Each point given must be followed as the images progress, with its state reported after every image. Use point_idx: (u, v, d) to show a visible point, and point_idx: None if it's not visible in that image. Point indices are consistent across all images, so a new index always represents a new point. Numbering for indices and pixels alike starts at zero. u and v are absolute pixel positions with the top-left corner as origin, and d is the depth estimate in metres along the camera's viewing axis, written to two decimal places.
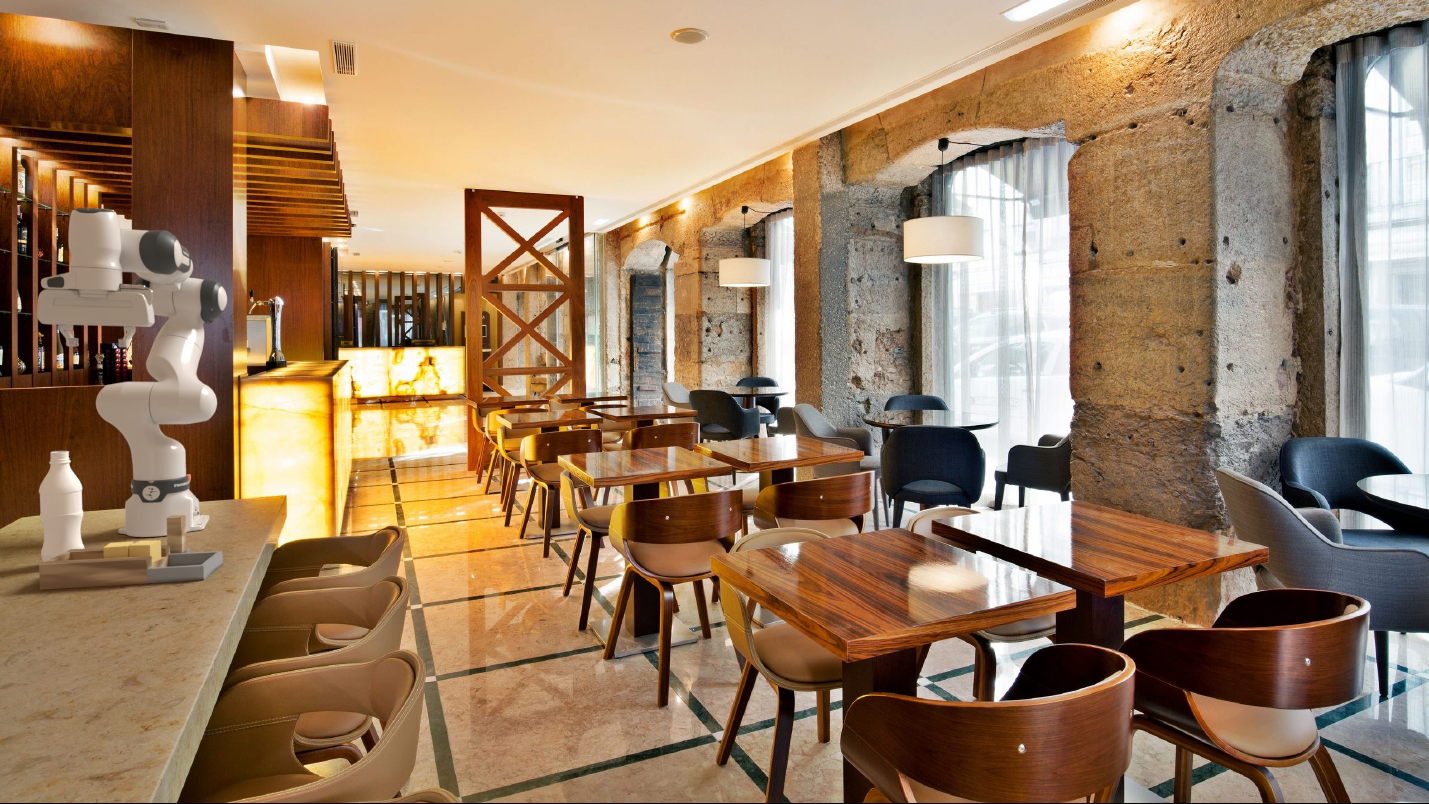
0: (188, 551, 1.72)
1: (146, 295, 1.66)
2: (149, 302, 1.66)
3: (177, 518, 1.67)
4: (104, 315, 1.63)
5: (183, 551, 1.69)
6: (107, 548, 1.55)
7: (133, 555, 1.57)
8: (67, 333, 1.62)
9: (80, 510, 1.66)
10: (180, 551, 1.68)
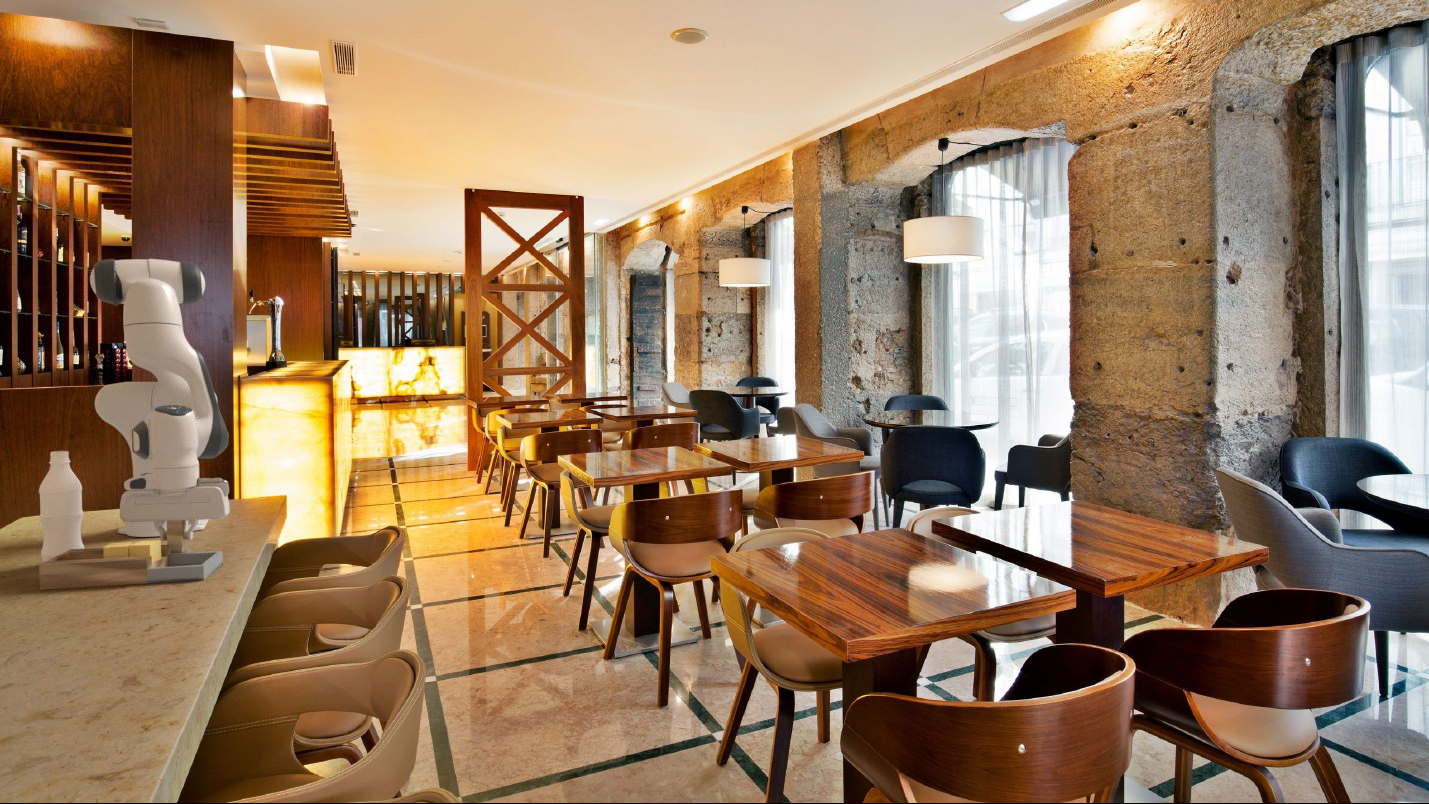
0: (188, 551, 1.71)
1: (222, 488, 1.71)
2: (225, 494, 1.71)
3: None
4: (183, 510, 1.67)
5: (183, 551, 1.69)
6: (107, 548, 1.55)
7: (133, 555, 1.57)
8: (161, 528, 1.68)
9: (80, 510, 1.66)
10: (180, 551, 1.68)
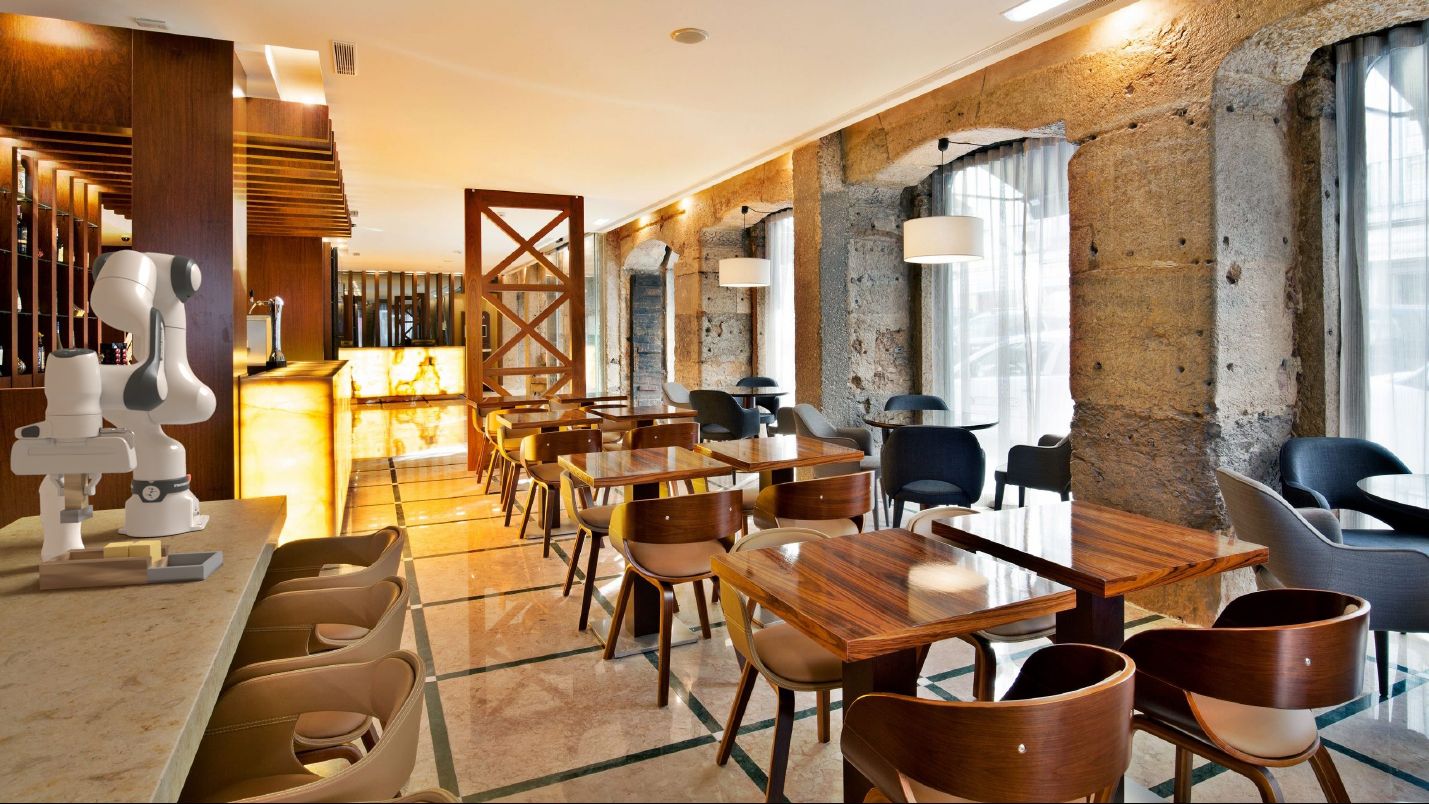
0: (90, 508, 1.57)
1: (128, 439, 1.56)
2: (131, 446, 1.56)
3: None
4: (83, 462, 1.53)
5: (83, 507, 1.54)
6: (107, 548, 1.55)
7: (133, 555, 1.57)
8: (59, 482, 1.53)
9: None
10: (79, 507, 1.53)
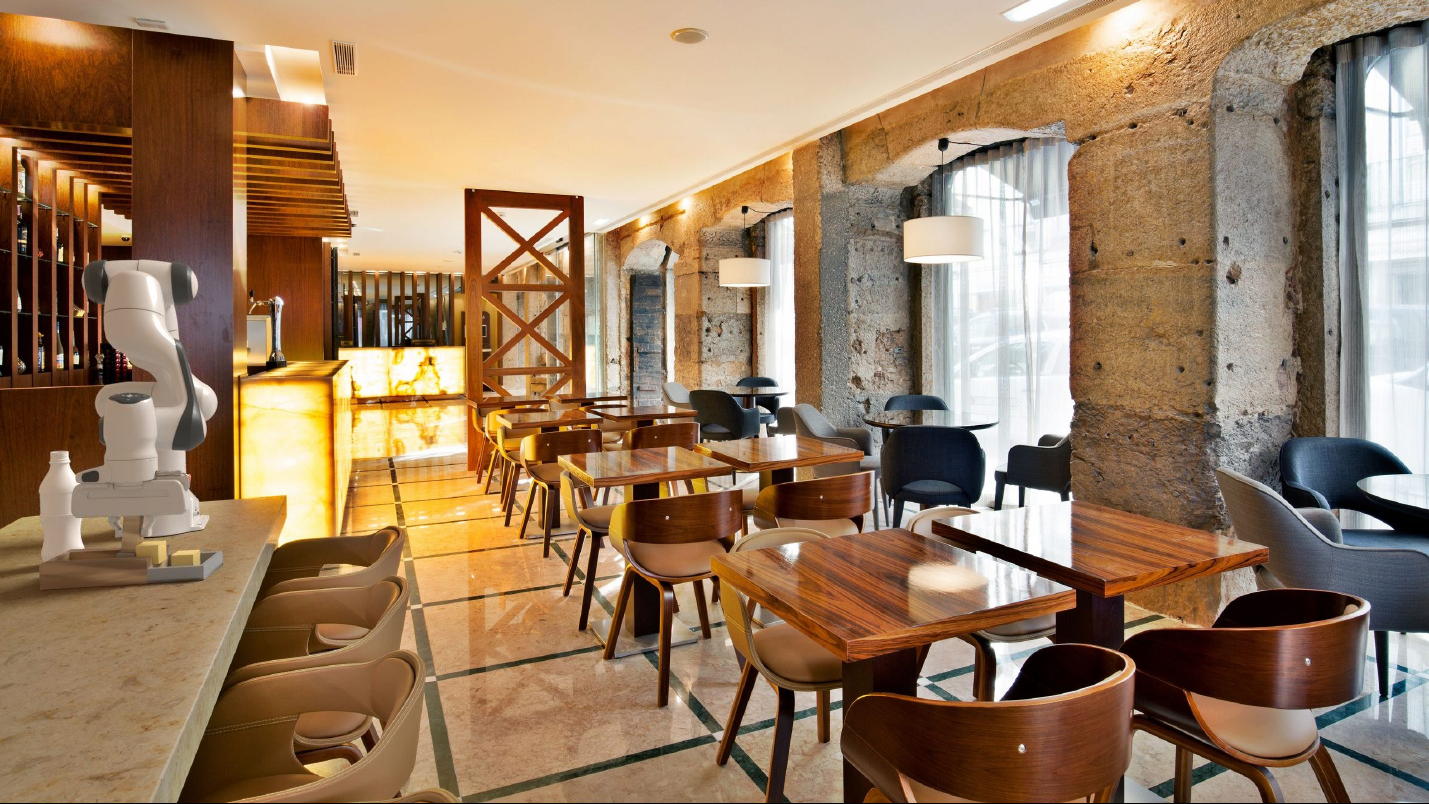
0: None
1: (182, 481, 1.59)
2: (186, 488, 1.60)
3: None
4: (140, 505, 1.56)
5: None
6: (139, 547, 1.56)
7: (181, 559, 1.59)
8: (116, 524, 1.57)
9: None
10: (135, 550, 1.57)
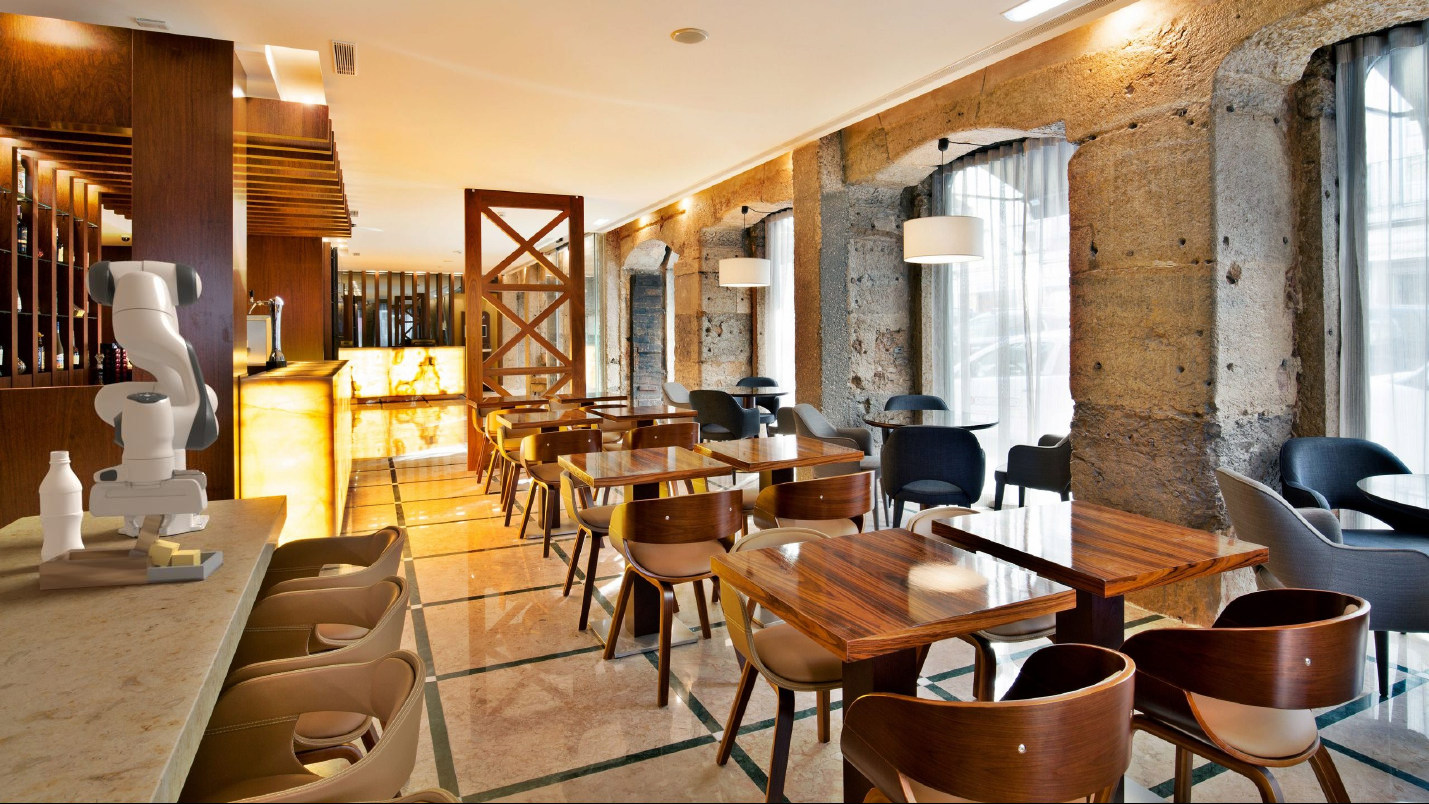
0: None
1: (199, 480, 1.60)
2: (202, 487, 1.60)
3: (157, 515, 1.57)
4: (157, 504, 1.57)
5: None
6: (154, 545, 1.57)
7: (181, 558, 1.59)
8: (132, 523, 1.57)
9: (80, 510, 1.66)
10: (148, 550, 1.57)
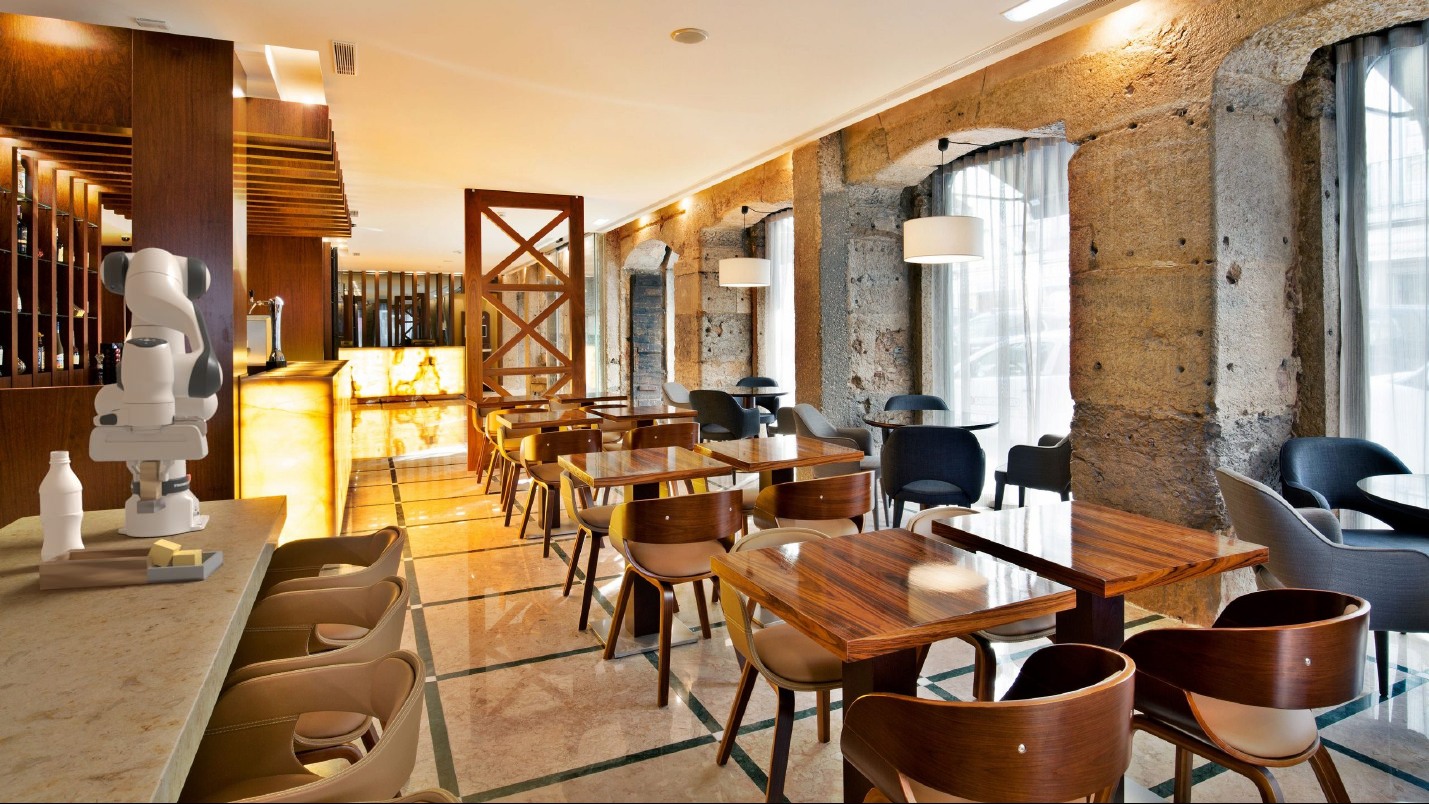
0: (163, 499, 1.61)
1: (200, 427, 1.60)
2: (203, 434, 1.60)
3: (151, 462, 1.57)
4: (158, 449, 1.57)
5: (157, 498, 1.58)
6: (156, 545, 1.57)
7: (182, 559, 1.59)
8: (134, 468, 1.57)
9: (80, 510, 1.66)
10: (154, 498, 1.57)
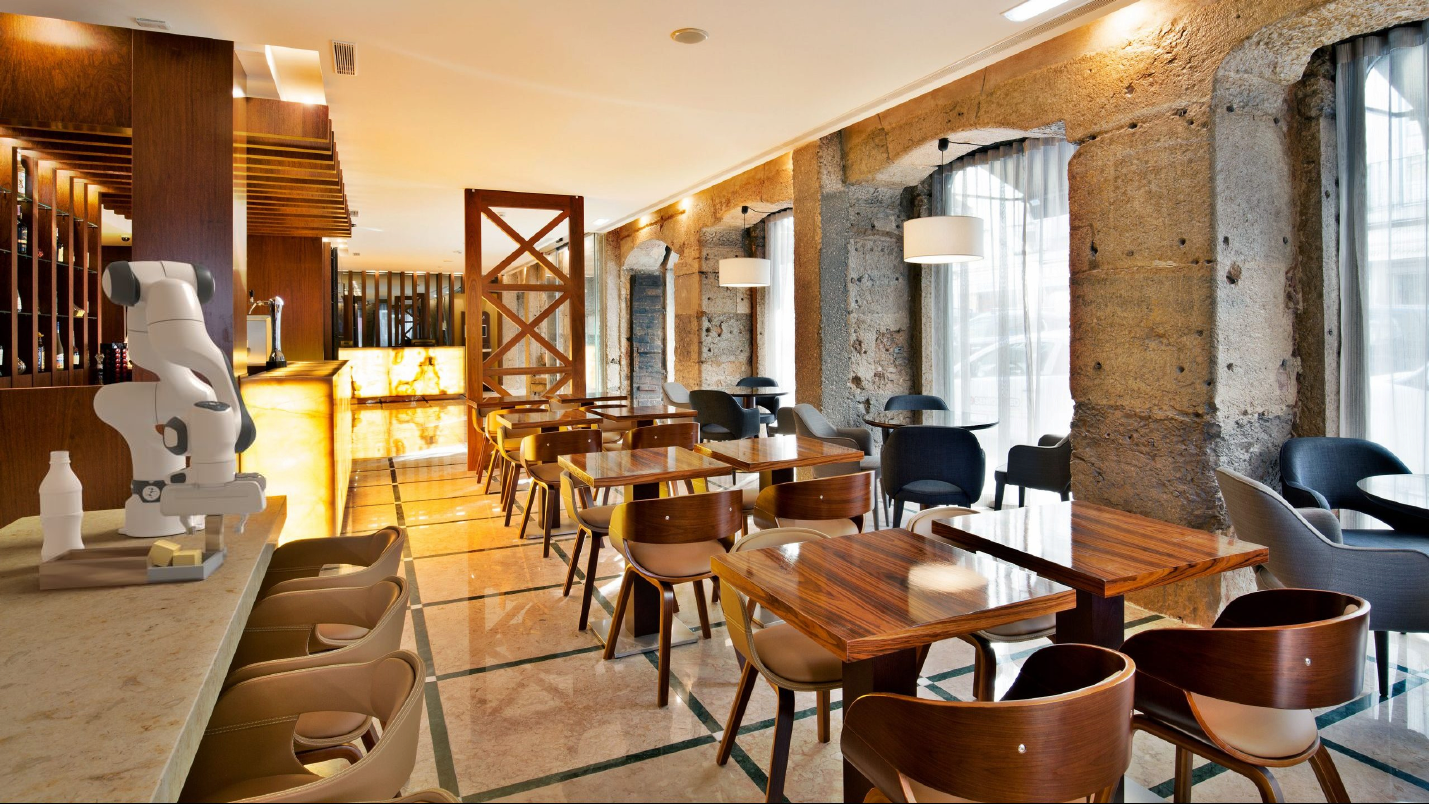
0: (225, 550, 1.73)
1: (260, 482, 1.73)
2: (262, 489, 1.73)
3: (215, 517, 1.69)
4: (222, 504, 1.69)
5: (221, 550, 1.71)
6: (156, 545, 1.57)
7: (182, 559, 1.59)
8: (186, 522, 1.69)
9: (80, 510, 1.66)
10: (218, 550, 1.70)
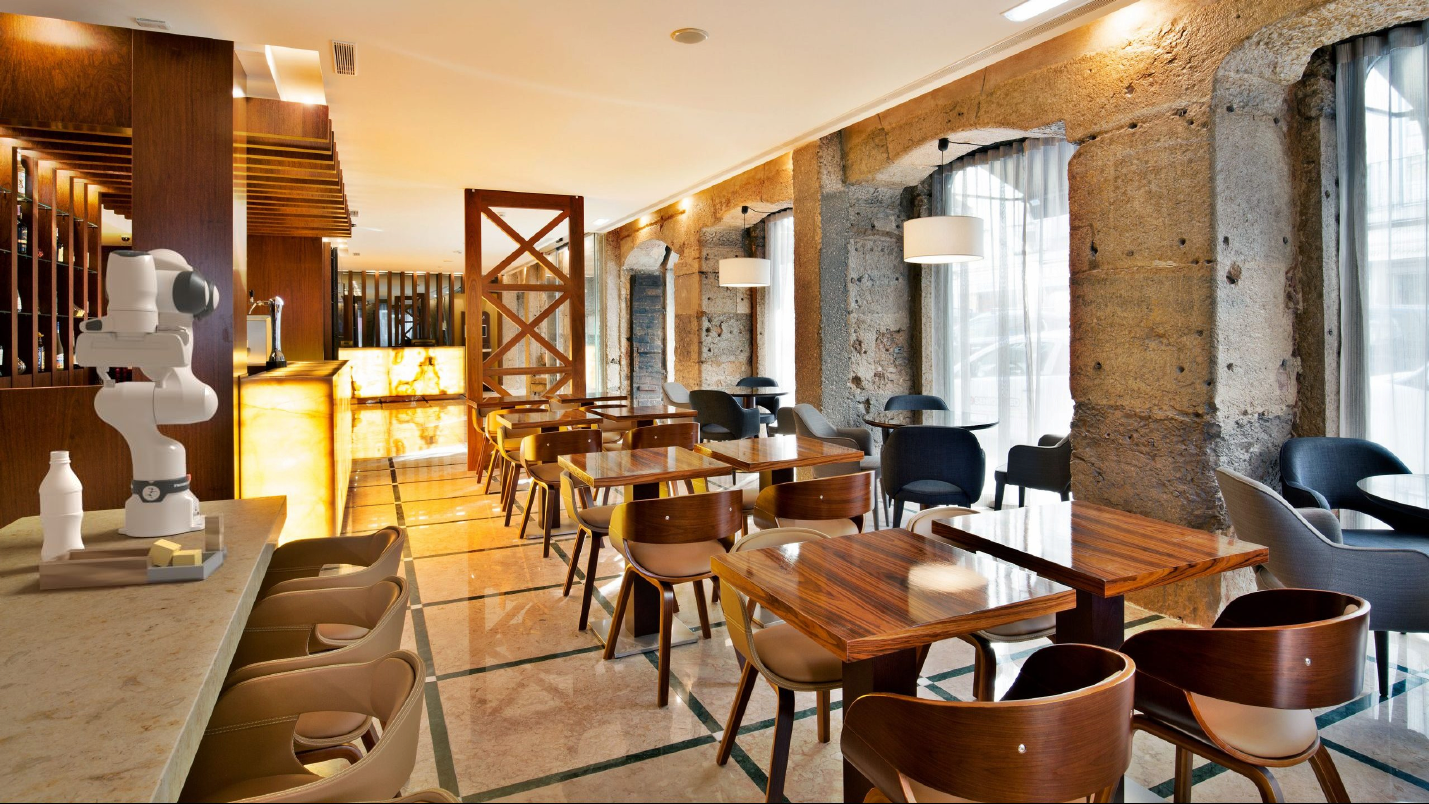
0: (225, 550, 1.73)
1: (182, 336, 1.67)
2: (185, 343, 1.67)
3: (215, 517, 1.69)
4: (141, 356, 1.64)
5: (221, 550, 1.71)
6: (156, 545, 1.57)
7: (182, 559, 1.59)
8: (104, 374, 1.63)
9: (80, 510, 1.66)
10: (218, 550, 1.70)
